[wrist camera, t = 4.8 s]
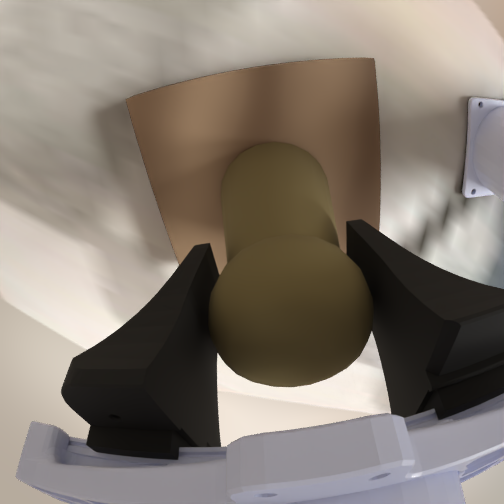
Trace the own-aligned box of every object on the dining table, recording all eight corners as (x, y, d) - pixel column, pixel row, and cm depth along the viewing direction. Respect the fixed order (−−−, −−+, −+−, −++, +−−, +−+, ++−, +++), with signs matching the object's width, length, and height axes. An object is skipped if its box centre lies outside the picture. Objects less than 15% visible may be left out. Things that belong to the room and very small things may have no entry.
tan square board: (355, 57, 16) (374, 58, 13) (364, 236, 23) (377, 260, 21) (142, 92, 17) (125, 99, 14) (193, 263, 24) (188, 289, 22)
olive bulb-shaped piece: (235, 129, 16) (207, 248, 6) (344, 160, 16) (440, 299, 7) (210, 227, 19) (176, 394, 10) (307, 250, 20) (341, 414, 11)
